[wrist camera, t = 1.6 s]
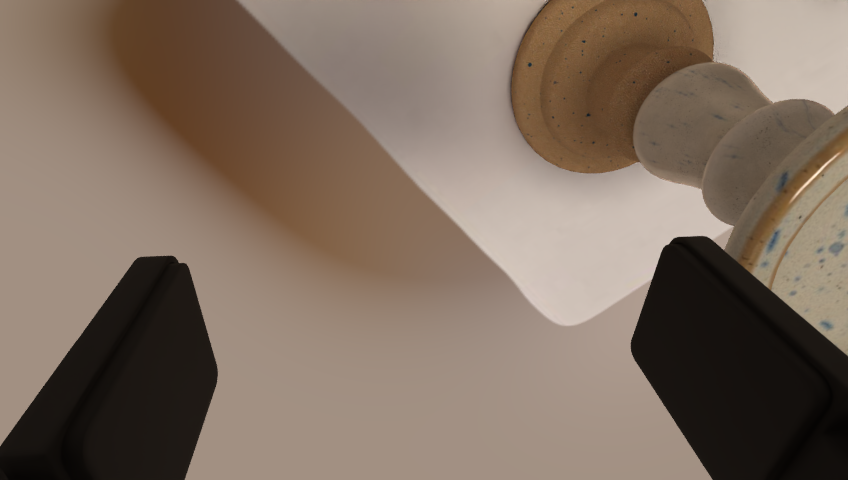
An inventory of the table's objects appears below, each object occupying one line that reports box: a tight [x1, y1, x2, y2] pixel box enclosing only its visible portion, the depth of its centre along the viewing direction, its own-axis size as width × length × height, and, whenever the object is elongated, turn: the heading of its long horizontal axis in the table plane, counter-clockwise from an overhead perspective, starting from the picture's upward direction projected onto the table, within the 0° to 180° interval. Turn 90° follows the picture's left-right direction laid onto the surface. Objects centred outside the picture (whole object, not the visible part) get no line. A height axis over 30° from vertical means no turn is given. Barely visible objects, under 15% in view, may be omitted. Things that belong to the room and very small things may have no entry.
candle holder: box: [511, 0, 848, 356], centre depth 21 cm, size 12×12×20 cm
